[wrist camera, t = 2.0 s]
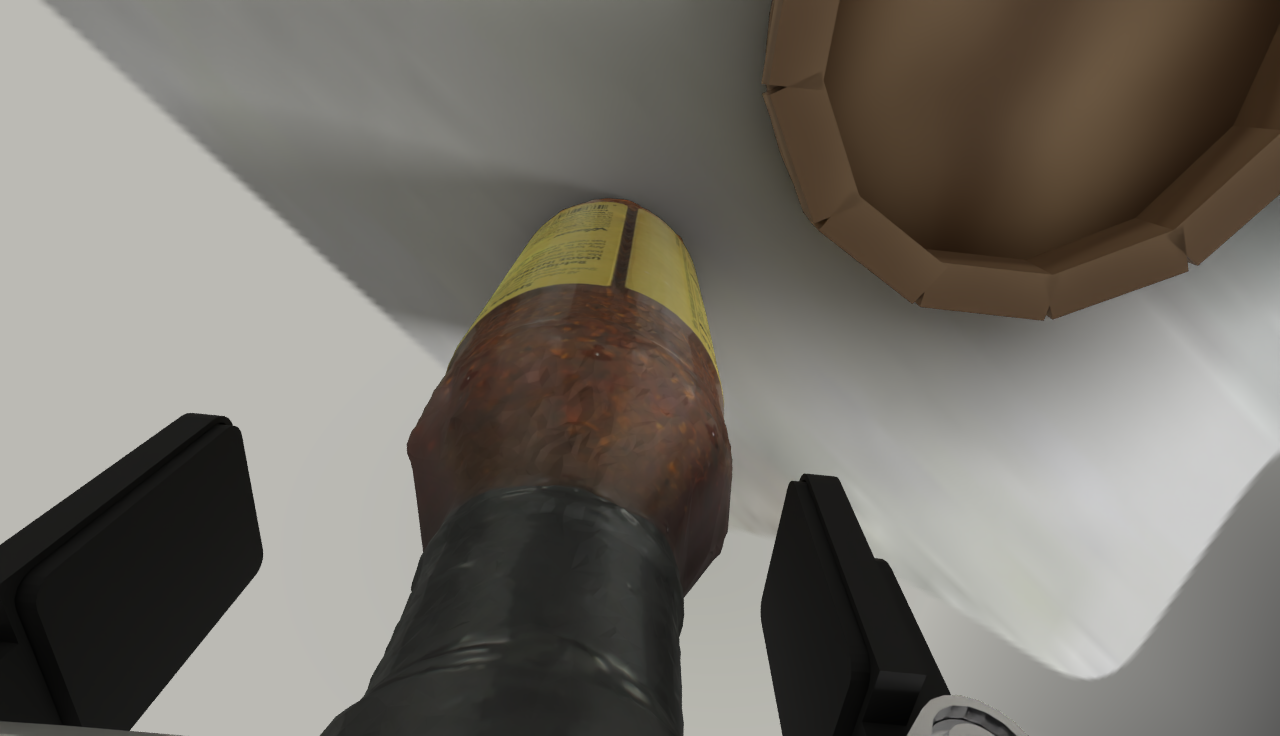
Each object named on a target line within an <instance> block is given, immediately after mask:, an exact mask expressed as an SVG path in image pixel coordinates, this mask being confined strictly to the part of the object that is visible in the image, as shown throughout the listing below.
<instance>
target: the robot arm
mask: <svg viewBox="0 0 1280 736" xmlns="http://www.w3.org/2000/svg"><path fill="white" fill-rule="evenodd" d="M262 560H263V548H262V542H261V537H260V532H259V527H258V521H257V516H256V510H255V504H254V499H253V493H252V488H251V482H250V477H249V472H248V466H247V461H246V455H245V450H244V444H243V439H242V434H241V431H240V430H239V428H238V427H236V426H233V425H232V422H231V421H230V420H229V418H227V417H225V416H217V415H207V414H197V413H196V414H195V413H187V414H185V415H183V416H181V417H180V418H178V419H177V420H176V421H174V422H172V423H171V424H170V425H168V426H167V427H166V428H164V429H163V430H161V431H160V432H158V433H157V434H156V435H154V436H153V437H151V438H150V439H149V440H147V441H146V442H144V443H143V444H141V445H140V446H139V447H137V448H136V449H134V450H133V451H132V452H130V453H129V454H127V455H126V456H125V457H123V458H122V459H120V460H119V461H118V462H116V463H115V464H113V465H112V466H111V467H109V468H108V469H106V470H105V471H103V472H102V473H101V474H99V475H98V476H96V477H95V478H94V479H92V480H91V481H89V482H88V483H87V484H85V485H84V486H82V487H81V488H80V489H78V490H77V491H75V492H74V493H73V494H71V495H70V496H69V497H67V498H66V499H64V500H63V501H62V502H60V503H59V504H57V505H56V506H54V507H53V508H51V509H50V510H49V511H47V512H46V513H44V514H43V515H42V516H40V517H39V518H37V519H36V520H35V521H33V522H32V523H30V524H29V525H28V526H26V527H25V528H23V529H22V530H20V531H19V532H18V533H17V534H15V535H14V536H12V537H11V538H9V539H8V540H6V541H5V542H4V543H2V544H1V545H0V736H181V735H169V734H158V733H146V732H134V731H130V730H131V728H132V727H133V726H134V725H135V723H136V722H137V721H138V720H139V718H140V717H141V716H142V715H143V713H144V712H145V711H146V710H147V708H148V707H149V706H150V705H151V703H152V702H153V701H154V700H155V699H156V697H157V696H158V695H159V694H160V692H161V691H162V690H163V689H164V687H165V686H166V685H167V684H168V683H169V681H170V680H171V679H172V678H173V676H174V675H175V674H176V673H177V671H178V670H179V669H180V667H182V665H183V664H184V663H185V662H186V660H187V659H188V658H189V656H190V655H191V654H192V653H193V652H194V650H195V649H196V648H197V647H198V646H199V644H200V643H201V642H202V641H203V639H204V638H205V637H206V636H207V634H208V633H209V632H210V631H211V629H212V628H213V627H214V626H215V625H216V623H217V622H218V621H219V619H220V618H221V617H222V616H223V615H224V613H225V612H226V611H227V610H228V608H229V607H230V606H231V605H232V604H233V602H234V601H235V600H236V599H237V597H238V596H239V595H240V594H241V592H242V591H243V590H244V589H245V587H246V586H247V585H248V584H249V583H250V581H251V580H252V579H253V578H254V576H255V575H256V574H257V572H258V570H259V568H260V566H261V563H262ZM761 622H762V628H763V633H764V638H765V643H766V649H767V655H768V660H769V665H770V670H771V676H772V681H773V686H774V692H775V697H776V703H777V708H778V713H779V719H780V724H781V729H782V735H783V736H1028V735H1027V734H1026V733H1025V732H1024V731H1023V730H1022V729H1021V728H1020V726H1018V724H1017V723H1015V722H1014V721H1013V720H1011V719H1010V718H1008V717H1007V716H1006V715H1004V714H1003V713H1002V712H1000V711H999V710H997V709H995V708H993V707H991V706H989V705H987V704H985V703H983V702H981V701H979V700H976V699H971V698H968V697H965V696H961V695H951V694H950V692H949V690H948V688H947V685H946V683H945V681H944V679H943V677H942V675H941V673H940V671H939V668H938V666H937V664H936V662H935V660H934V658H933V656H932V654H931V652H930V649H929V647H928V645H927V643H926V641H925V639H924V637H923V635H922V632H921V630H920V628H919V626H918V624H917V622H916V620H915V618H914V616H913V613H912V611H911V609H910V607H909V605H908V603H907V601H906V599H905V596H904V594H903V593H902V590H901V588H900V586H899V584H898V582H897V579H896V577H895V575H894V573H893V571H892V569H891V567H890V566H889V564H888V563H887V562H886V561H885V560H883V559H878V558H874V556H873V554H872V552H871V549H870V547H869V545H868V543H867V541H866V538H865V536H864V534H863V532H862V529H861V527H860V525H859V523H858V520H857V518H856V516H855V514H854V511H853V509H852V507H851V505H850V502H849V500H848V498H847V496H846V494H845V491H844V489H843V487H842V485H841V482H840V480H839V479H838V478H837V477H834V476H824V475H814V474H803V475H802V476H801V478H800V481H791V482H790V483H789V485H788V489H787V493H786V497H785V501H784V506H783V510H782V514H781V519H780V523H779V527H778V531H777V536H776V540H775V544H774V549H773V553H772V557H771V561H770V566H769V570H768V574H767V579H766V583H765V587H764V591H763V596H762V601H761Z"/></svg>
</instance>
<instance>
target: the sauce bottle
mask: <svg viewBox="0 0 1280 736" xmlns="http://www.w3.org/2000/svg"><path fill="white" fill-rule="evenodd" d="M407 454H408V456H409V459H410V461H411V465H412V469H413V476H414V483H415V490H416V497H417V505H418V513H419V522H420V530H421V538H422V545H423V554H422V555H421V557H420V560H419V563H418V567H417V570H416V573H415V576H414V579H413V582H412V586H411V591H412V593H411V594H410V596H409V599H408V601H407V604H406V606H405V609H404V611H403V614H402V616H401V619H400V621H399V622H398V624H397V626H396V627H395V630H394V633H393V636H392V638H391V641H390V642H389V644H388V646H387V648H386V651H385V654H384V657H383V658H382V660H381V661H380V663H379V665H378V666H377V668H376V670H375V672H374V673H373V675H372V677H371V679H370V683H369V686H368V689H367V691H366V693H365V695H364V697H363V698H362V699H361V700H360V701H358V702H357V703H355V704H353V705H352V706H350V707H349V708H347V709H346V710H345V711H343V712H342V713H340V714H339V715H338V716H336V717H335V718H334V719H333V721H332V722H331V723H330V724H329V726H328V727H327V728H326V729H325V730H324V731H323V733H322V734H321V735H320V736H683V726H684V722H683V714H682V684H681V666H680V655H681V651H680V646H679V636H680V633H681V629H682V627H683V618H684V597H685V596H686V594H687V593H688V592H689V591H690V589H691V588H692V587H693V586H694V584H695V583H696V582H697V581H698V579H699V578H700V577H701V575H702V574H703V573H704V571H705V570H706V569H707V568H708V566H709V565H710V564H711V563H712V561H713V560H714V559H715V558H716V557H717V556H718V555H719V554H720V553H721V550H722V547H723V542H724V538H725V536H726V534H727V531H728V521H729V508H730V494H731V482H732V456H731V446H730V443H729V439H728V433H727V428H726V425H725V423H724V399H723V392H722V386H721V381H720V377H719V373H718V368H717V364H716V359H715V354H714V349H713V345H712V340H711V335H710V331H709V326H708V321H707V317H706V312H705V308H704V304H703V301H702V296H701V292H700V288H699V284H698V279H697V275H696V271H695V268H694V265H693V262H692V259H691V257H690V255H689V253H688V251H687V249H686V248H685V246H684V243H683V241H682V239H681V237H680V236H679V235H677V234H675V232H674V231H673V230H672V229H671V228H670V227H669V226H668V225H667V224H666V223H665V222H664V221H663V220H661V219H660V218H659V217H658V216H656V215H654V214H652V213H651V212H650V211H649V210H647V209H644V208H642V207H641V206H639V205H638V204H636V203H634V202H632V201H629V200H624V199H611V198H605V199H598V200H596V199H594V200H591V201H589V202H586V203H582V204H579V205H576V206H572V207H571V208H568V209H564V210H562V211H560V212H559V213H558V214H557V215H556V216H554V217H553V218H552V219H551V220H549V221H548V222H547V223H545V224H544V225H543V226H542V227H541V228H540V229H539V230H538V231H537V232H536V233H535V234H534V235H533V237H532V238H531V240H530V241H529V243H528V244H527V246H526V247H525V248H524V250H523V251H522V253H521V254H520V256H519V257H518V259H517V260H516V262H515V263H514V264H513V266H512V267H511V269H510V270H509V272H508V273H507V275H506V276H505V278H504V279H503V281H502V282H501V284H500V285H499V287H498V288H497V290H496V291H495V293H494V294H493V296H492V297H491V299H490V300H489V301H488V303H487V304H486V306H485V307H484V309H483V310H482V312H481V313H480V315H479V316H478V318H477V319H476V320H475V322H474V323H473V325H472V326H471V328H470V329H469V330H468V332H467V333H466V335H465V336H464V337H463V339H462V340H461V342H460V343H459V345H458V346H457V348H456V350H455V352H454V355H453V357H452V359H451V361H450V363H449V365H448V368H447V371H446V375H445V376H444V378H443V379H442V380H441V382H440V384H439V385H438V386H437V388H436V389H435V390H434V392H433V394H432V397H431V399H430V400H429V402H428V404H427V405H426V407H425V408H424V411H423V413H422V416H421V417H420V419H419V421H418V423H417V425H416V427H415V428H414V429H413V430H412V432H411V434H410V437H409V440H408V443H407Z"/></svg>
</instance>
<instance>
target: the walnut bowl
mask: <svg viewBox="0 0 1280 736" xmlns="http://www.w3.org/2000/svg"><path fill="white" fill-rule="evenodd" d="M761 84H766V88H767V91H766V92H764V93H762V95H763V98H764V101H765V103H766V106H767V109H768V112H769V115H770V118H771V122H772V126H773V130H774V133H775V137H776V140H777V144H778V148H779V151H780V154H781V156H782V159H783V161H784V163H785V166H786V168H787V170H788V173H789V175H790V177H791V180H792V182H793V184H794V187H795V190H796V193H797V196H798V199H799V201H800V204H801V207H802V210H803V213H804V214H805V215H806V216H807V217H808V219H809V221H810V222H811V223H812V224H813V225H814V226H815V227H816V228H817V229H818V230H819V231H820V232H821V233H822V234H824V235H825V236H826V237H827V238H829V239H830V240H831V241H833V242H834V243H835V244H836V245H838V246H839V247H840V248H842V249H843V250H844V251H845V252H847V253H848V254H849V255H850V256H852V257H853V258H854V259H856V260H857V261H858V262H859V263H861V264H862V265H863V266H865V267H866V268H867V269H868V270H870V271H871V272H872V273H873V274H875V275H876V276H877V277H879V278H880V279H881V280H882V281H884V282H885V283H886V284H888V285H889V286H890V287H891V288H893V289H894V290H895V291H896V292H898V293H899V294H900V295H902V296H903V297H904V298H905V299H907V300H908V301H909V302H911V303H912V304H913V303H914V302H915V303H916V304H918V305H919V306H920V307H925V308H934V309H943V310H952V311H961V312H970V313H979V314H988V315H997V316H1006V317H1015V318H1024V319H1034V320H1043V321H1044V319H1045V316H1046V315H1047V316H1048V317H1050V318H1051V319H1056V318H1058V317H1061V316H1064V315H1067V314H1070V313H1072V312H1075V311H1078V310H1081V309H1084V308H1087V307H1089V306H1092V305H1095V304H1098V303H1101V302H1103V301H1106V300H1109V299H1112V298H1115V297H1117V296H1120V295H1123V294H1126V293H1129V292H1132V291H1134V290H1137V289H1140V288H1143V287H1146V286H1148V285H1151V284H1154V283H1157V282H1160V281H1162V280H1165V279H1168V278H1171V277H1174V276H1176V275H1179V274H1182V273H1185V272H1188V271H1189V270H1188V262H1189V263H1192V264H1195V265H1197V266H1198V265H1199V264H1200V263H1202V262H1203V261H1204V260H1205V259H1206V258H1207V257H1208V256H1210V255H1211V254H1212V253H1213V252H1214V251H1215V250H1216V249H1218V248H1219V247H1220V246H1221V245H1222V244H1223V243H1224V242H1226V241H1227V240H1228V239H1229V238H1230V237H1231V236H1232V235H1234V234H1235V233H1236V232H1237V231H1238V230H1239V229H1240V228H1242V227H1243V226H1244V225H1245V224H1246V223H1247V222H1248V221H1250V220H1251V219H1252V218H1253V217H1254V216H1255V215H1256V214H1258V213H1259V212H1260V211H1261V210H1262V209H1263V208H1264V207H1266V206H1267V205H1268V204H1269V203H1270V202H1271V201H1273V200H1274V199H1275V198H1276V197H1277V196H1278V195H1279V194H1280V0H772V4H771V9H770V14H769V24H768V34H767V43H766V58H765V64H764V70H763V76H762V83H761Z"/></svg>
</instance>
